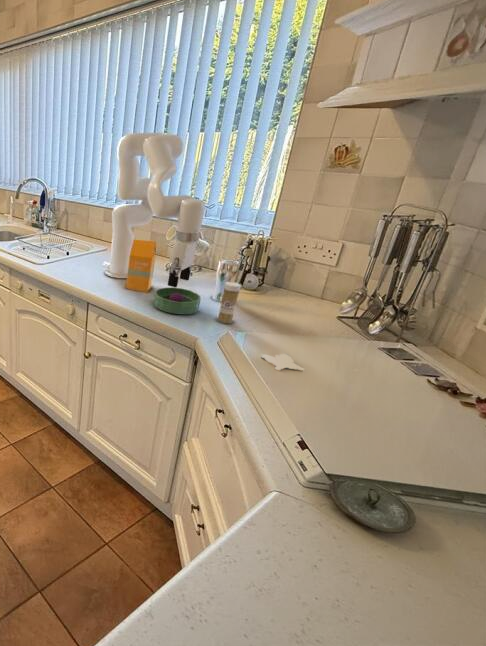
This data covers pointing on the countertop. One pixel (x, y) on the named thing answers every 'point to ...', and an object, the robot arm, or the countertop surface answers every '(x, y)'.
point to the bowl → (176, 307)
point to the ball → (177, 297)
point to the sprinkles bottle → (228, 302)
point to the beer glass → (225, 276)
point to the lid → (373, 506)
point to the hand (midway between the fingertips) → (178, 282)
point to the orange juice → (141, 265)
